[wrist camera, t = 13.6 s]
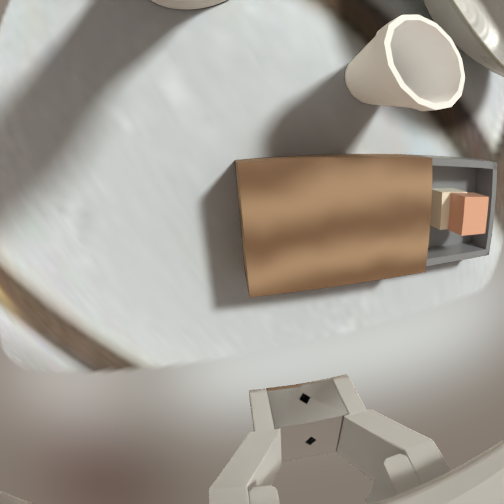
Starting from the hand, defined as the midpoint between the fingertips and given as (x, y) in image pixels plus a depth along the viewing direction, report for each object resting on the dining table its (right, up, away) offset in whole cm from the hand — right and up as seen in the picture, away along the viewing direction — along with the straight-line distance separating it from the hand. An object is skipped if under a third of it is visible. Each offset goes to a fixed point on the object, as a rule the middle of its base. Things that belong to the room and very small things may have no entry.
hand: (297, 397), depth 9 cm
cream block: (+25, +10, +26) cm, 38 cm away
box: (+26, +11, +30) cm, 41 cm away
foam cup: (+13, +26, +24) cm, 37 cm away
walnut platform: (+8, +9, +29) cm, 31 cm away
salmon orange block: (+27, +10, +26) cm, 39 cm away
